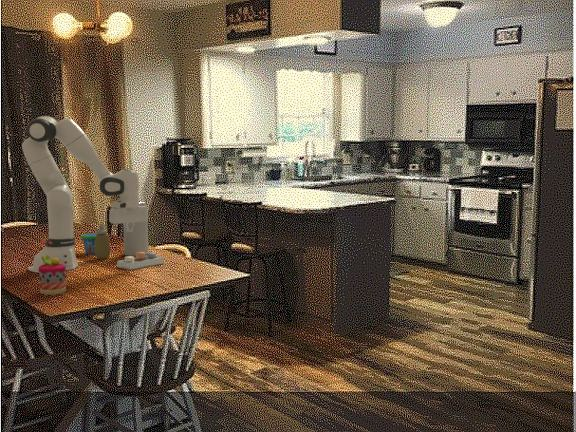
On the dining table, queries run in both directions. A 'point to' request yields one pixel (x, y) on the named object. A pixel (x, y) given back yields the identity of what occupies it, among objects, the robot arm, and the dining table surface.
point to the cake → (52, 276)
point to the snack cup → (89, 242)
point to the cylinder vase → (136, 239)
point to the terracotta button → (140, 255)
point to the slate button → (151, 255)
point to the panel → (140, 263)
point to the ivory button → (129, 259)
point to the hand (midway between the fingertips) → (129, 231)
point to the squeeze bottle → (102, 244)
